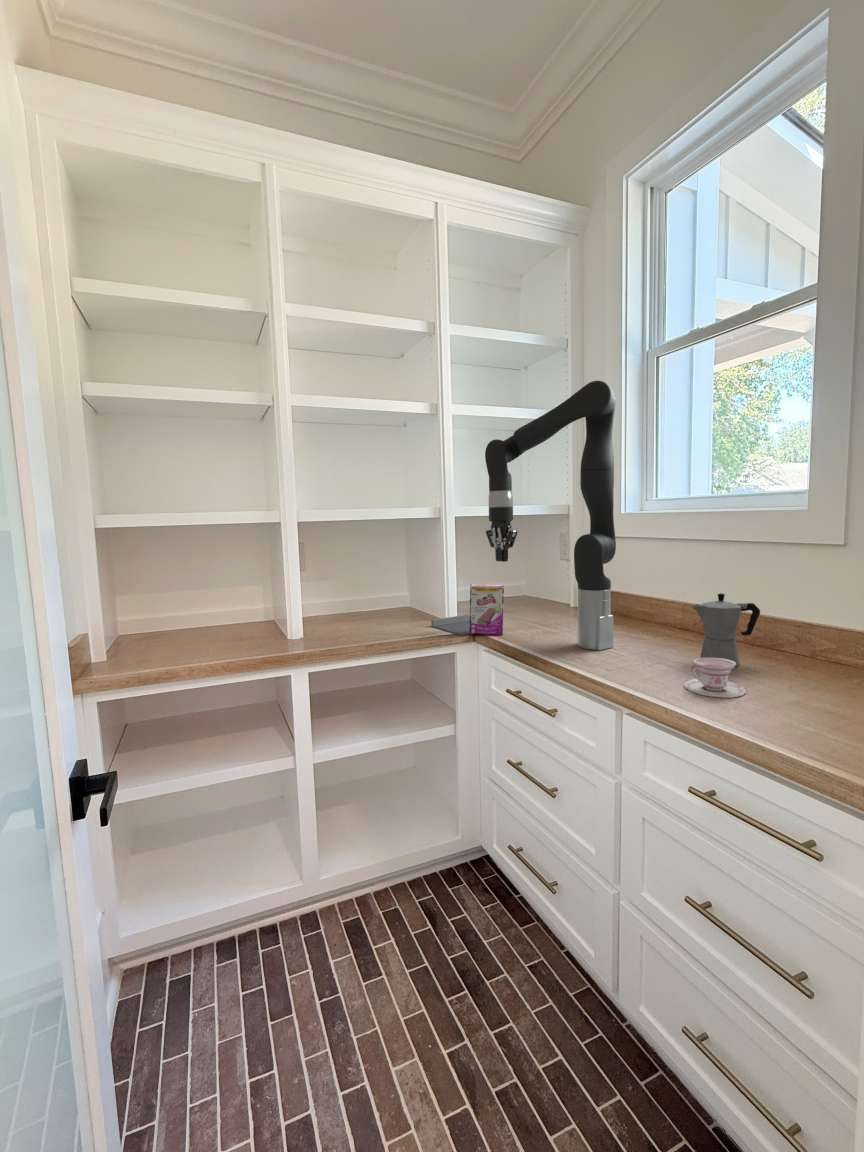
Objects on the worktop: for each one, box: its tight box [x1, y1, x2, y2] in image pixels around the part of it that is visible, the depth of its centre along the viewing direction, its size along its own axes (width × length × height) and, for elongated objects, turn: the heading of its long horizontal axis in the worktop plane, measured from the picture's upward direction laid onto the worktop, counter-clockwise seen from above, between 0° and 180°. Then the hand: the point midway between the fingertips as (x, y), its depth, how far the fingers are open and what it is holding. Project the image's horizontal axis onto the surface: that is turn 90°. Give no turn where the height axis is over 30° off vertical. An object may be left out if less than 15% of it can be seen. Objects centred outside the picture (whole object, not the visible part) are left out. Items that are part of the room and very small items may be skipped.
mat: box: [430, 614, 471, 637], centre depth 188 cm, size 20×16×2 cm
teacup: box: [683, 657, 746, 699], centre depth 116 cm, size 12×12×6 cm
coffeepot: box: [691, 593, 761, 668], centre depth 134 cm, size 15×9×18 cm, turn 74°
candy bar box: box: [469, 583, 505, 636], centre depth 176 cm, size 11×5×16 cm, turn 84°
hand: (501, 561), depth 167 cm, fingers closed
